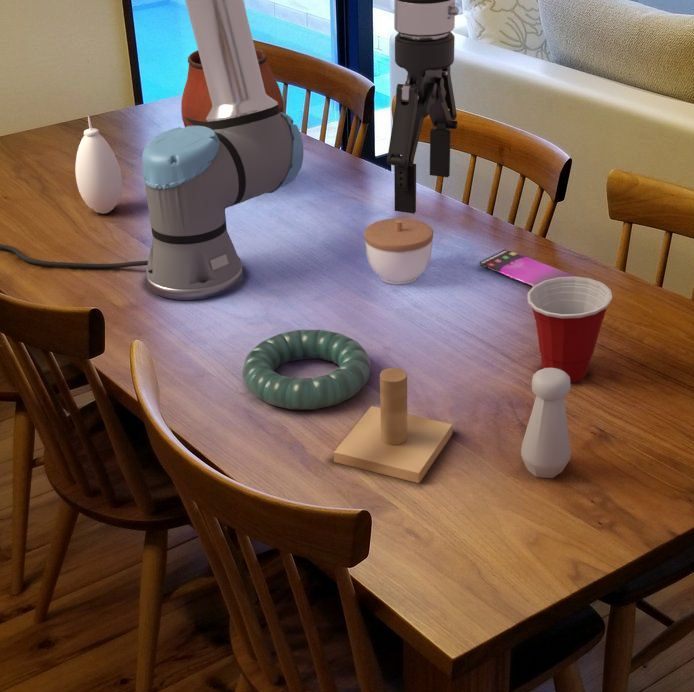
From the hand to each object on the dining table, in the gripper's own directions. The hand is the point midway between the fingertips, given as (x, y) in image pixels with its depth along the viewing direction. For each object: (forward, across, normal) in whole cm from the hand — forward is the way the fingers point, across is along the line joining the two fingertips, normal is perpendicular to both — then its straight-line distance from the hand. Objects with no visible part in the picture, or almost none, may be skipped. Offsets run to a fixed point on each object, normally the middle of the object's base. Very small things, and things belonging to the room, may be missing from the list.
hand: (423, 193), depth 146 cm
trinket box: (+21, +14, +9) cm, 27 cm away
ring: (+19, -20, +9) cm, 29 cm away
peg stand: (+20, -30, -8) cm, 37 cm away
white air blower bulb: (+21, +21, +70) cm, 76 cm away
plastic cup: (+21, -6, -22) cm, 31 cm away
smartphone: (+21, +22, -10) cm, 32 cm away
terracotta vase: (+21, +41, +52) cm, 69 cm away
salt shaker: (+20, -28, -26) cm, 43 cm away
